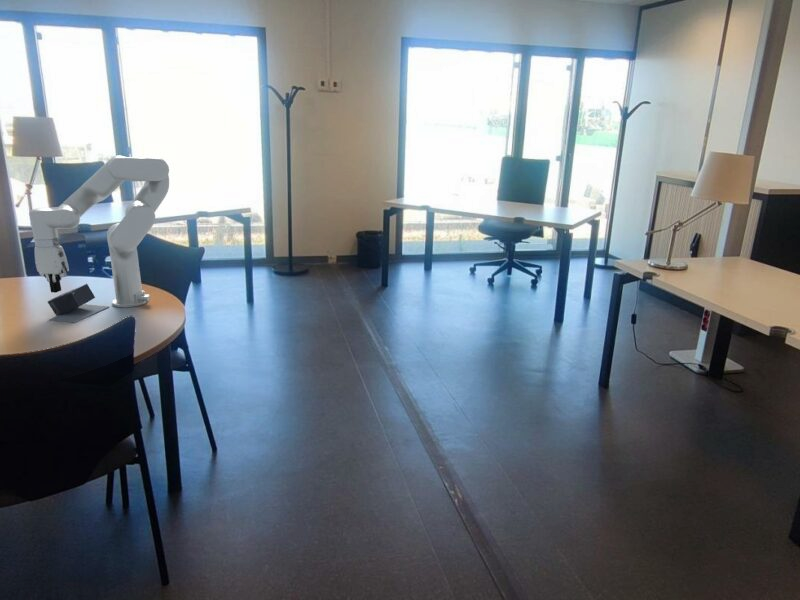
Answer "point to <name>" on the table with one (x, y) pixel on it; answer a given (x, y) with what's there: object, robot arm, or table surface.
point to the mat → (79, 313)
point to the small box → (71, 300)
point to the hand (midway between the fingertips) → (56, 291)
